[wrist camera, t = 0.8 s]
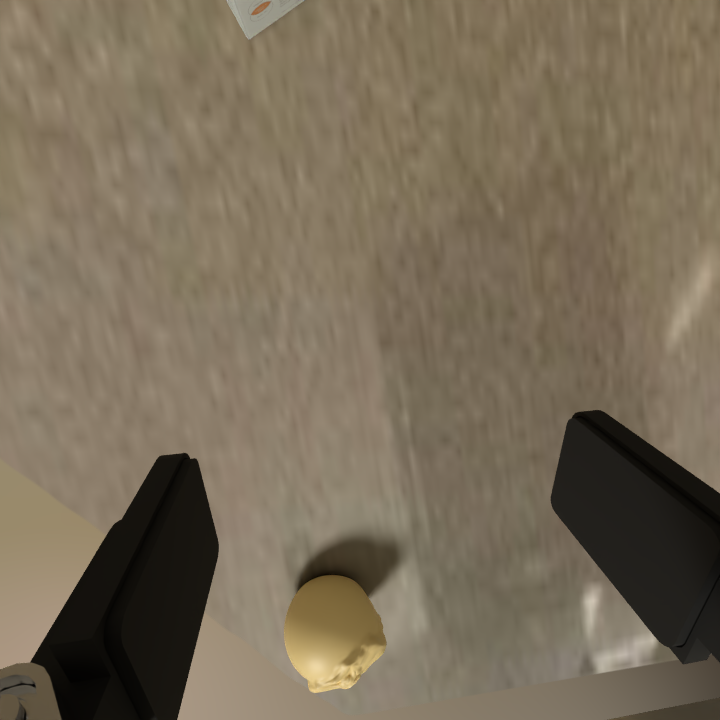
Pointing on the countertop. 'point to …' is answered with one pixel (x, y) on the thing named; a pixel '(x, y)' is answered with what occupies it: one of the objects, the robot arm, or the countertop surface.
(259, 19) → the small box
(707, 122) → the countertop surface
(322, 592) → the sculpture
